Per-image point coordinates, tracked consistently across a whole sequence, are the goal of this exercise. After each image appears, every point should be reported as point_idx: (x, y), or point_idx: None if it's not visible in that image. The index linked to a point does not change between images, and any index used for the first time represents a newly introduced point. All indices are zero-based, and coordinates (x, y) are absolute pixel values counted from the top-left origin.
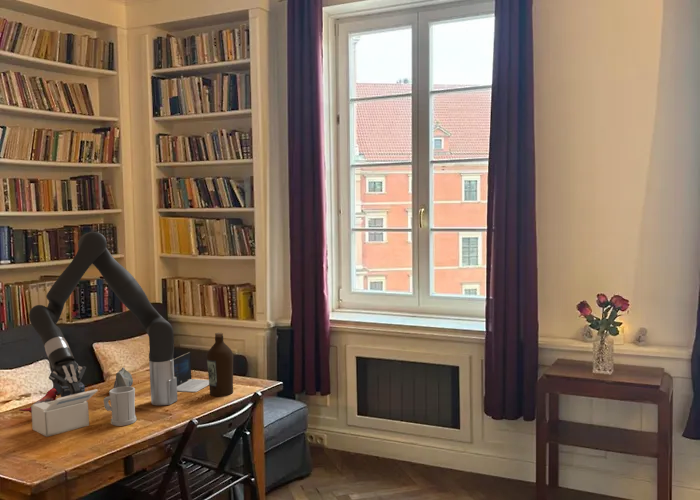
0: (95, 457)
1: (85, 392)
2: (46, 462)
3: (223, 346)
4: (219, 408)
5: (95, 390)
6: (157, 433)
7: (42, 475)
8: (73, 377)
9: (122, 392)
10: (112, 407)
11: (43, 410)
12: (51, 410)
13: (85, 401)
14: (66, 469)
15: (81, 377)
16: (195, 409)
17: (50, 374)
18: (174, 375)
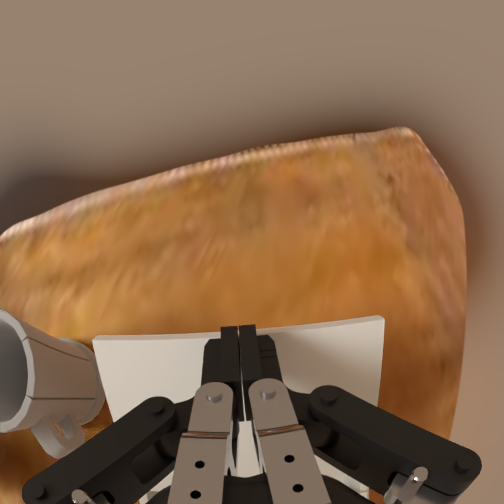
0: (276, 154)
1: (176, 338)
2: (386, 208)
3: None
4: None
5: (107, 337)
6: (77, 203)
7: (398, 148)
8: (222, 424)
9: (8, 320)
10: (71, 381)
11: (365, 493)
12: (334, 477)
13: (142, 499)
14: (351, 140)
15: (140, 409)
16: None
17: (476, 461)
18: None
